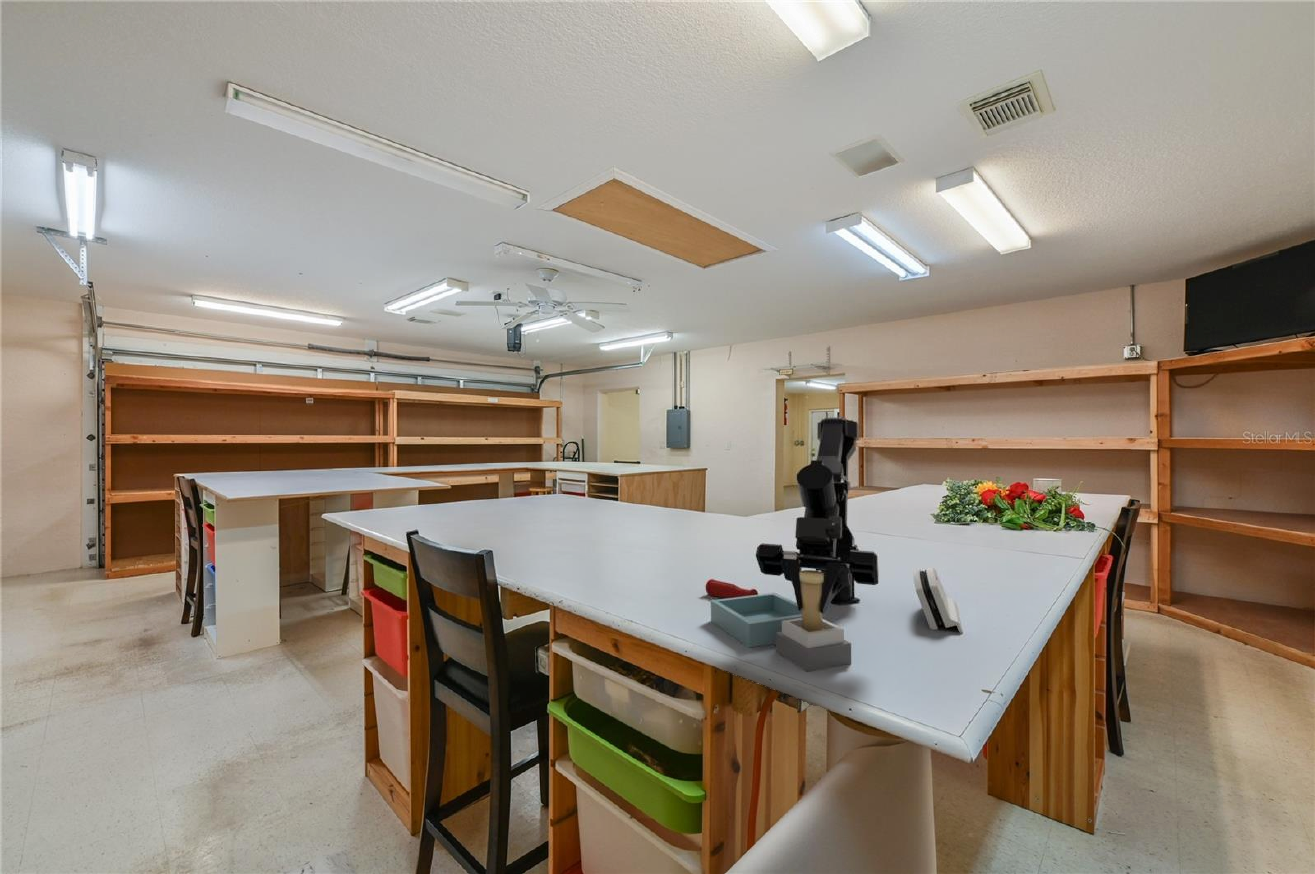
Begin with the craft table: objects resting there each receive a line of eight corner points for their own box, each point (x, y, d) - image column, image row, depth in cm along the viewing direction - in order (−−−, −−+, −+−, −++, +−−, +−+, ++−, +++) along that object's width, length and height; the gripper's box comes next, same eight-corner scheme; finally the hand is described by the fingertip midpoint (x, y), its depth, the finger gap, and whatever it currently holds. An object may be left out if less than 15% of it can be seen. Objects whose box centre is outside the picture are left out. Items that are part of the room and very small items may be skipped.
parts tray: (774, 612, 103) (774, 592, 103) (820, 635, 89) (820, 613, 90) (711, 620, 98) (710, 600, 98) (749, 647, 85) (749, 624, 85)
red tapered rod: (807, 622, 97) (807, 603, 97) (704, 596, 114) (703, 580, 114) (816, 617, 99) (816, 599, 99) (713, 592, 117) (713, 577, 117)
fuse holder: (817, 644, 86) (816, 614, 86) (851, 663, 78) (850, 629, 78) (775, 651, 83) (775, 620, 83) (807, 671, 75) (806, 637, 75)
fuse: (814, 632, 83) (813, 569, 83) (829, 640, 79) (828, 574, 80) (795, 635, 82) (794, 571, 82) (809, 643, 78) (809, 576, 78)
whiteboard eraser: (963, 634, 90) (940, 577, 92) (934, 639, 92) (912, 583, 94) (957, 607, 105) (937, 558, 107) (932, 612, 107) (913, 564, 109)
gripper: (757, 495, 88) (740, 575, 78) (876, 499, 81) (874, 589, 70) (769, 535, 95) (754, 613, 85) (879, 542, 87) (877, 629, 77)
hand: (810, 610), depth 79 cm, fingers closed on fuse, 3 cm apart
